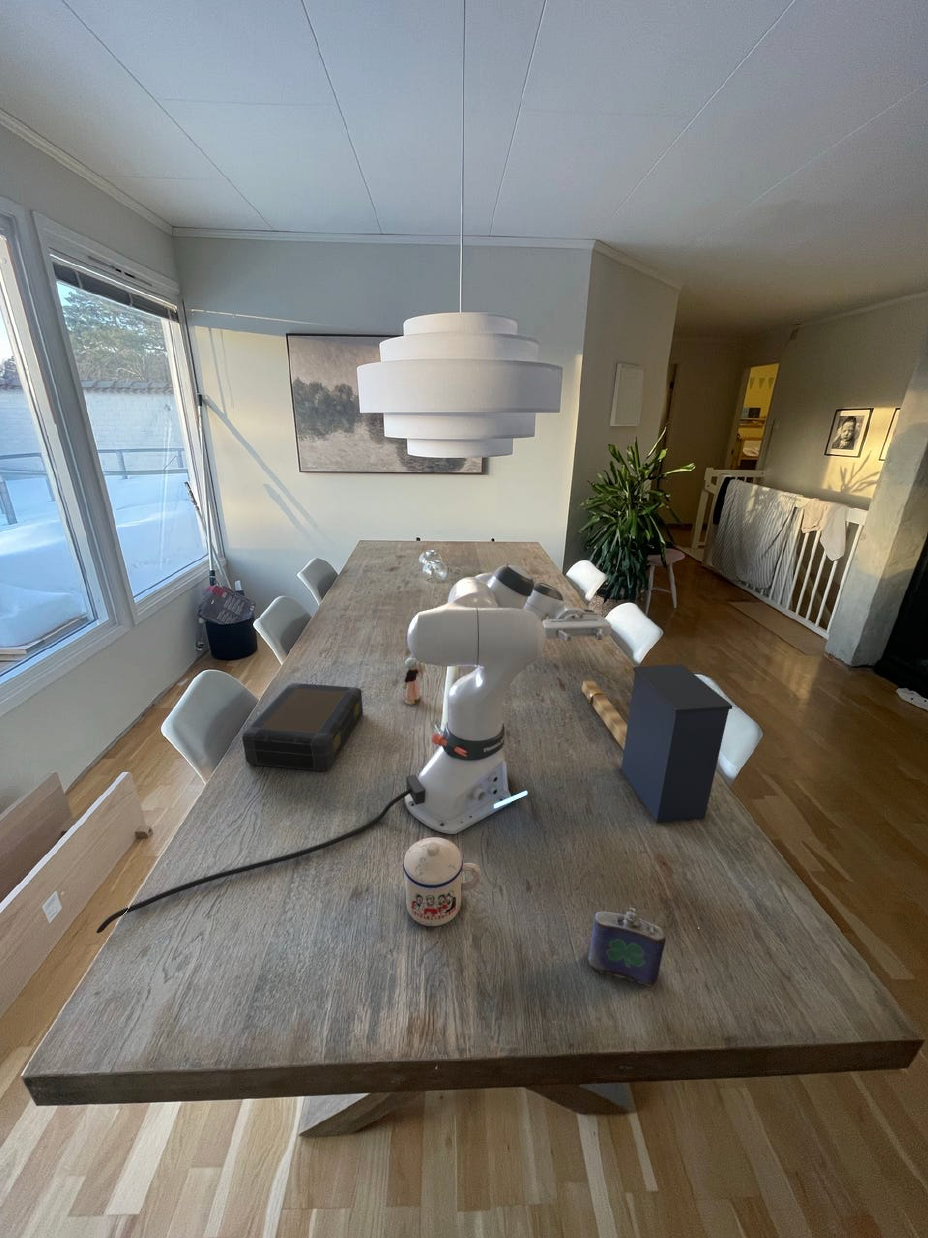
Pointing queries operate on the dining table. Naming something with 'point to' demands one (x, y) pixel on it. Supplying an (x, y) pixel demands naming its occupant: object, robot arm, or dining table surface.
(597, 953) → the flask
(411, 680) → the grandmother figurine
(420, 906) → the teacup with lid
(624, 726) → the ring rod
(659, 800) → the stand
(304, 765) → the black hard case
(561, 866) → the dining table surface
